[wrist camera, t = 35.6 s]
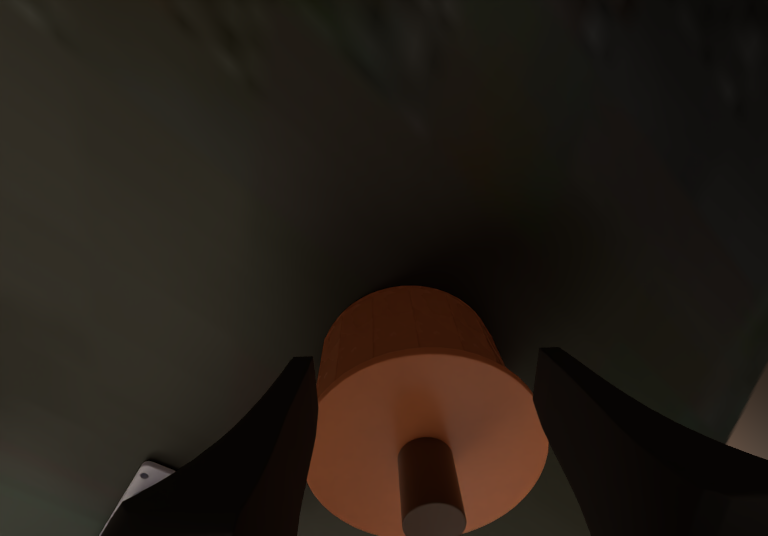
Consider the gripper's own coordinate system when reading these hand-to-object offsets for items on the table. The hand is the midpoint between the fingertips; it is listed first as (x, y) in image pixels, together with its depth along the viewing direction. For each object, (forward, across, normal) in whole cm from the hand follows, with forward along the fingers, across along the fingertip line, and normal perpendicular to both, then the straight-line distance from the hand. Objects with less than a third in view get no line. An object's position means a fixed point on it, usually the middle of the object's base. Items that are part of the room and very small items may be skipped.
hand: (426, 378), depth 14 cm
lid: (+3, 0, +6) cm, 7 cm away
